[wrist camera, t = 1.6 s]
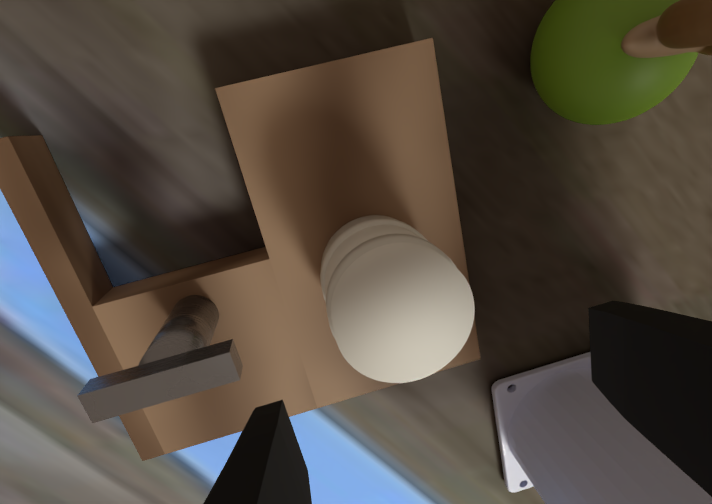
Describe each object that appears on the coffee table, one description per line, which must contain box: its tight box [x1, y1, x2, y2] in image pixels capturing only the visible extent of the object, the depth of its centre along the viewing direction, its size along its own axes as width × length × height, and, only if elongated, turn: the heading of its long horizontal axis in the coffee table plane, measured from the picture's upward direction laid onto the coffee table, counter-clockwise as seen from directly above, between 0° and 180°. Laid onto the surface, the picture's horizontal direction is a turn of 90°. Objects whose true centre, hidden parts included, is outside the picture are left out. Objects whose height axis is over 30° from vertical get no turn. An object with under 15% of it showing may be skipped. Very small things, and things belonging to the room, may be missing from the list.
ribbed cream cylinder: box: [320, 215, 475, 383], centre depth 15 cm, size 5×5×5 cm
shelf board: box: [0, 38, 481, 461], centre depth 17 cm, size 16×14×2 cm
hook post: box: [78, 295, 243, 423], centre depth 14 cm, size 4×2×5 cm, turn 103°
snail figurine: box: [530, 0, 712, 125], centre depth 12 cm, size 5×6×12 cm
